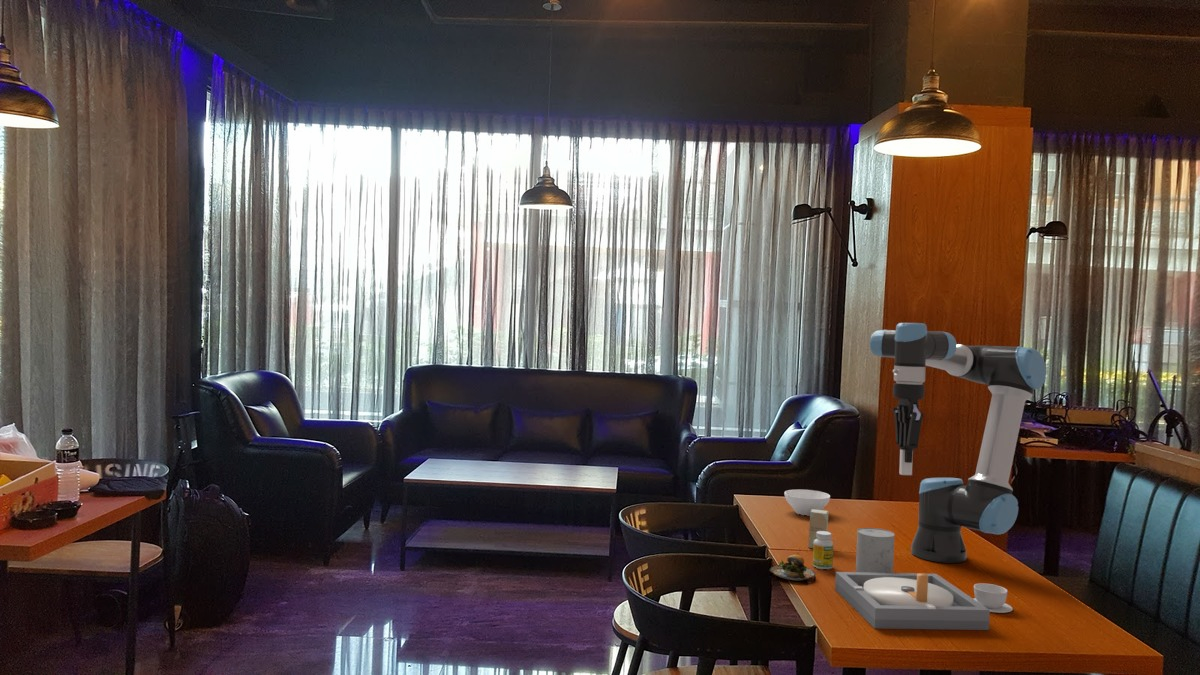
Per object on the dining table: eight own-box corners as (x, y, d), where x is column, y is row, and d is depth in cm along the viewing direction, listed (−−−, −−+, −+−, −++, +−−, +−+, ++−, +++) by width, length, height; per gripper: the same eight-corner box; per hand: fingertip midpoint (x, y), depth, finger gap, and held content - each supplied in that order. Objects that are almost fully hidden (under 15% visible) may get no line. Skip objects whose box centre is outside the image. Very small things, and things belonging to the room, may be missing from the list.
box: (807, 547, 243) (809, 511, 242) (809, 544, 247) (811, 508, 246) (825, 550, 241) (827, 513, 240) (827, 546, 245) (828, 510, 244)
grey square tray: (935, 591, 205) (935, 572, 205) (988, 630, 179) (989, 608, 179) (835, 589, 204) (835, 570, 204) (874, 628, 178) (875, 606, 178)
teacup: (1010, 617, 188) (1011, 597, 188) (964, 608, 194) (965, 589, 194) (1014, 605, 197) (1015, 586, 197) (970, 597, 202) (970, 578, 202)
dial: (850, 584, 201) (851, 553, 201) (927, 585, 203) (928, 553, 202) (884, 613, 181) (886, 578, 181) (970, 614, 183) (971, 579, 182)
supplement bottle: (821, 563, 227) (822, 529, 227) (836, 568, 223) (838, 533, 222) (808, 565, 224) (809, 531, 224) (823, 571, 220) (824, 536, 219)
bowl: (785, 517, 281) (785, 497, 281) (782, 507, 297) (783, 488, 297) (832, 520, 279) (832, 500, 279) (827, 510, 295) (827, 491, 294)
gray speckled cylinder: (892, 575, 218) (894, 530, 218) (893, 585, 209) (895, 538, 209) (855, 570, 221) (857, 526, 221) (854, 580, 212) (856, 534, 212)
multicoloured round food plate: (761, 573, 217) (762, 545, 217) (797, 569, 222) (798, 542, 222) (788, 587, 206) (789, 558, 206) (825, 582, 211) (826, 554, 211)
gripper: (884, 380, 212) (881, 469, 213) (905, 384, 199) (901, 479, 200) (912, 381, 213) (909, 470, 213) (935, 385, 200) (931, 479, 200)
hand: (905, 474), depth 207 cm, fingers closed
